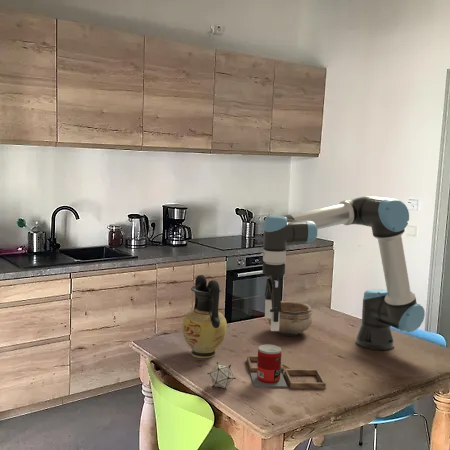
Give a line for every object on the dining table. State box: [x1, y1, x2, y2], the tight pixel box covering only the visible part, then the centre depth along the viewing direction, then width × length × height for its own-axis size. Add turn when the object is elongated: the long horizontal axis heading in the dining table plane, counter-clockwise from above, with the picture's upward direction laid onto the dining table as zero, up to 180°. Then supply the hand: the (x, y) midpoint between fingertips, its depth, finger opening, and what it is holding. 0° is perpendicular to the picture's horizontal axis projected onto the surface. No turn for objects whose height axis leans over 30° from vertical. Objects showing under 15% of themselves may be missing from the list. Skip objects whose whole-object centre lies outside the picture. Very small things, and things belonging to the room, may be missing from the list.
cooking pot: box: [266, 300, 313, 337], centre depth 236 cm, size 25×19×12 cm
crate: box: [246, 355, 285, 374], centre depth 198 cm, size 12×12×2 cm
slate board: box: [250, 373, 288, 389], centre depth 185 cm, size 11×11×1 cm
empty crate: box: [283, 368, 327, 390], centre depth 186 cm, size 12×12×2 cm
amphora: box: [182, 274, 228, 359], centre depth 206 cm, size 18×17×30 cm
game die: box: [207, 361, 236, 391], centre depth 178 cm, size 9×8×10 cm
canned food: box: [256, 344, 282, 383], centre depth 185 cm, size 8×8×11 cm
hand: (271, 324), depth 183 cm, fingers open, 13 cm apart
